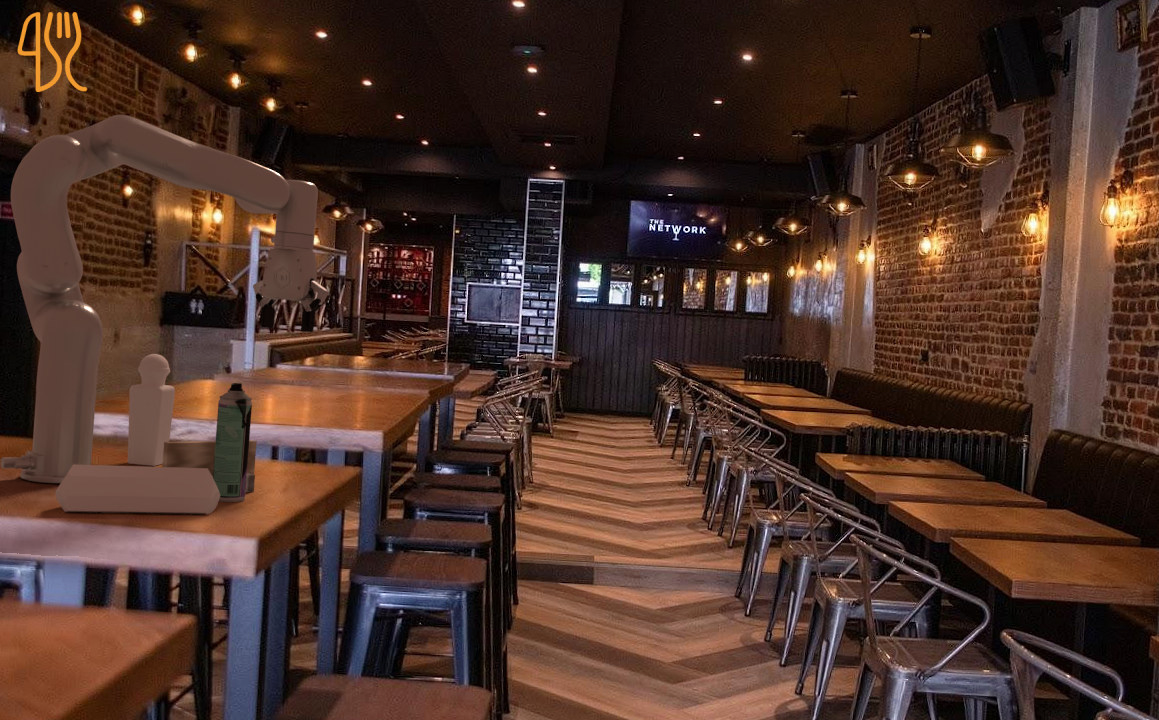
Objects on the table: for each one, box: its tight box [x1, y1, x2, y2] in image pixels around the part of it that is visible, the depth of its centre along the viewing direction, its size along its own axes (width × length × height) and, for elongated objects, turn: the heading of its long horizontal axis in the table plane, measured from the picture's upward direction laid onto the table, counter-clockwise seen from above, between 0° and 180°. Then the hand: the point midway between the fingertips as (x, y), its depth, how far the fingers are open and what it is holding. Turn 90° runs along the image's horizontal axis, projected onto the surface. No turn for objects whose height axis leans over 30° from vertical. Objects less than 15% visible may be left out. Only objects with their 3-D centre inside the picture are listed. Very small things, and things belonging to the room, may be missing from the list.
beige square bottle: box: [127, 353, 176, 467], centre depth 208 cm, size 6×6×22 cm
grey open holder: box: [161, 439, 257, 493], centre depth 188 cm, size 17×9×8 cm, turn 136°
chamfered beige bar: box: [54, 464, 220, 515], centre depth 163 cm, size 7×7×24 cm
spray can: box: [213, 382, 253, 503], centre depth 178 cm, size 6×6×20 cm
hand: (286, 329), depth 207 cm, fingers open, 9 cm apart
